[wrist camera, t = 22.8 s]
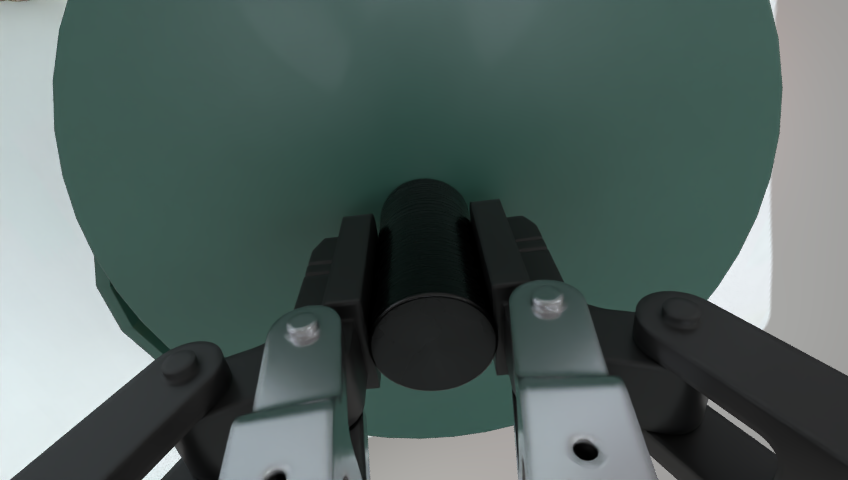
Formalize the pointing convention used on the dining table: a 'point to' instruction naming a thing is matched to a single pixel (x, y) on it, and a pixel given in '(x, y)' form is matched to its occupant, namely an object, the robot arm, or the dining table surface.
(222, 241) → the pot lid
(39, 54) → the dining table surface
